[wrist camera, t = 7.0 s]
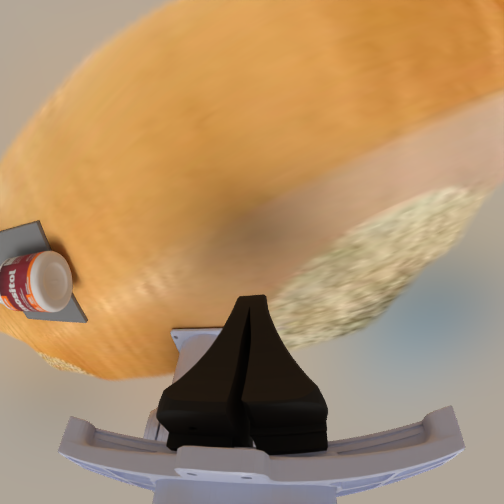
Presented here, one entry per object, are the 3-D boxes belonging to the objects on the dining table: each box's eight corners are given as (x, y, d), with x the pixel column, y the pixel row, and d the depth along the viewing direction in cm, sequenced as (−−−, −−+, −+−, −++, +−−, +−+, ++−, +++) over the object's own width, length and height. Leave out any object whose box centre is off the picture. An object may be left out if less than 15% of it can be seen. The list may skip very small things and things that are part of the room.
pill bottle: (49, 323, 21) (-3, 320, 22) (81, 295, 27) (26, 298, 28) (26, 261, 19) (-21, 270, 20) (64, 241, 25) (11, 253, 26)
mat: (87, 320, 31) (86, 322, 30) (29, 316, 32) (27, 318, 31) (39, 220, 23) (36, 222, 23) (-14, 235, 25) (-16, 237, 24)
